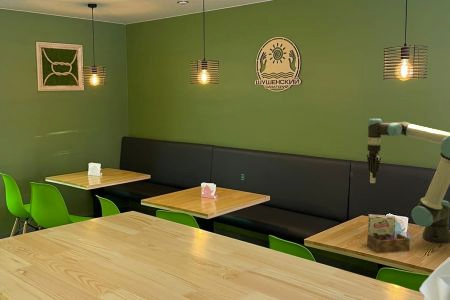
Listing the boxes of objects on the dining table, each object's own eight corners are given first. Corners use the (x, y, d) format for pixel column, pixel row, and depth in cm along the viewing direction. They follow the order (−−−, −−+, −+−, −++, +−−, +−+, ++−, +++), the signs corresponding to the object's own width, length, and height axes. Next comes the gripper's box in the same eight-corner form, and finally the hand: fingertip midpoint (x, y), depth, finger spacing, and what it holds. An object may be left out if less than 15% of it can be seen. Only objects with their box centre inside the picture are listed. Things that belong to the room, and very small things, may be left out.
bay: (398, 243, 254) (399, 233, 253) (409, 249, 244) (409, 239, 243) (367, 246, 251) (367, 235, 250) (376, 252, 241) (377, 241, 240)
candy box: (367, 245, 251) (368, 216, 250) (367, 242, 257) (368, 213, 255) (394, 247, 248) (395, 218, 246) (392, 244, 254) (394, 215, 252)
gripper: (363, 143, 280) (361, 181, 283) (373, 145, 267) (372, 185, 270) (374, 143, 282) (372, 180, 284) (385, 145, 269) (384, 184, 272)
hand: (372, 182), depth 277 cm, fingers closed
